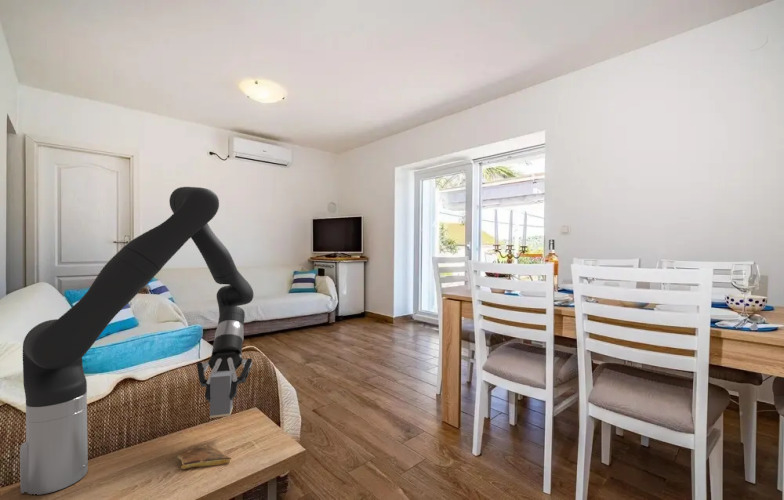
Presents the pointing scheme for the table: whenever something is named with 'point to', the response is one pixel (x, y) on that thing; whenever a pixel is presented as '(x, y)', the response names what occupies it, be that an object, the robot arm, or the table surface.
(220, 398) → the sanding block
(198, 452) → the shard
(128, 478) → the table surface
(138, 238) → the robot arm
